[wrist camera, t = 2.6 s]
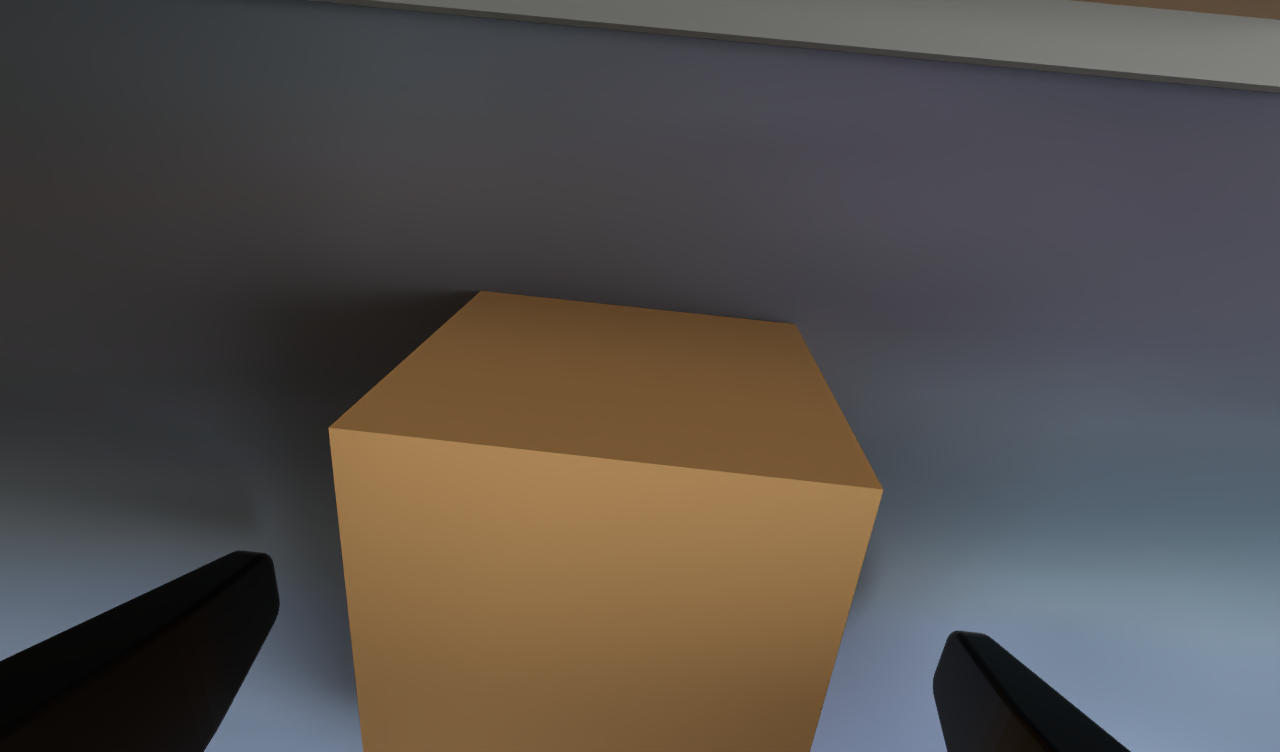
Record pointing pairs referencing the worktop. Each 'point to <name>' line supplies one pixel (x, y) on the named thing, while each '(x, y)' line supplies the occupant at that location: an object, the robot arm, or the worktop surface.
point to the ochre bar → (598, 533)
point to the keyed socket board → (953, 31)
